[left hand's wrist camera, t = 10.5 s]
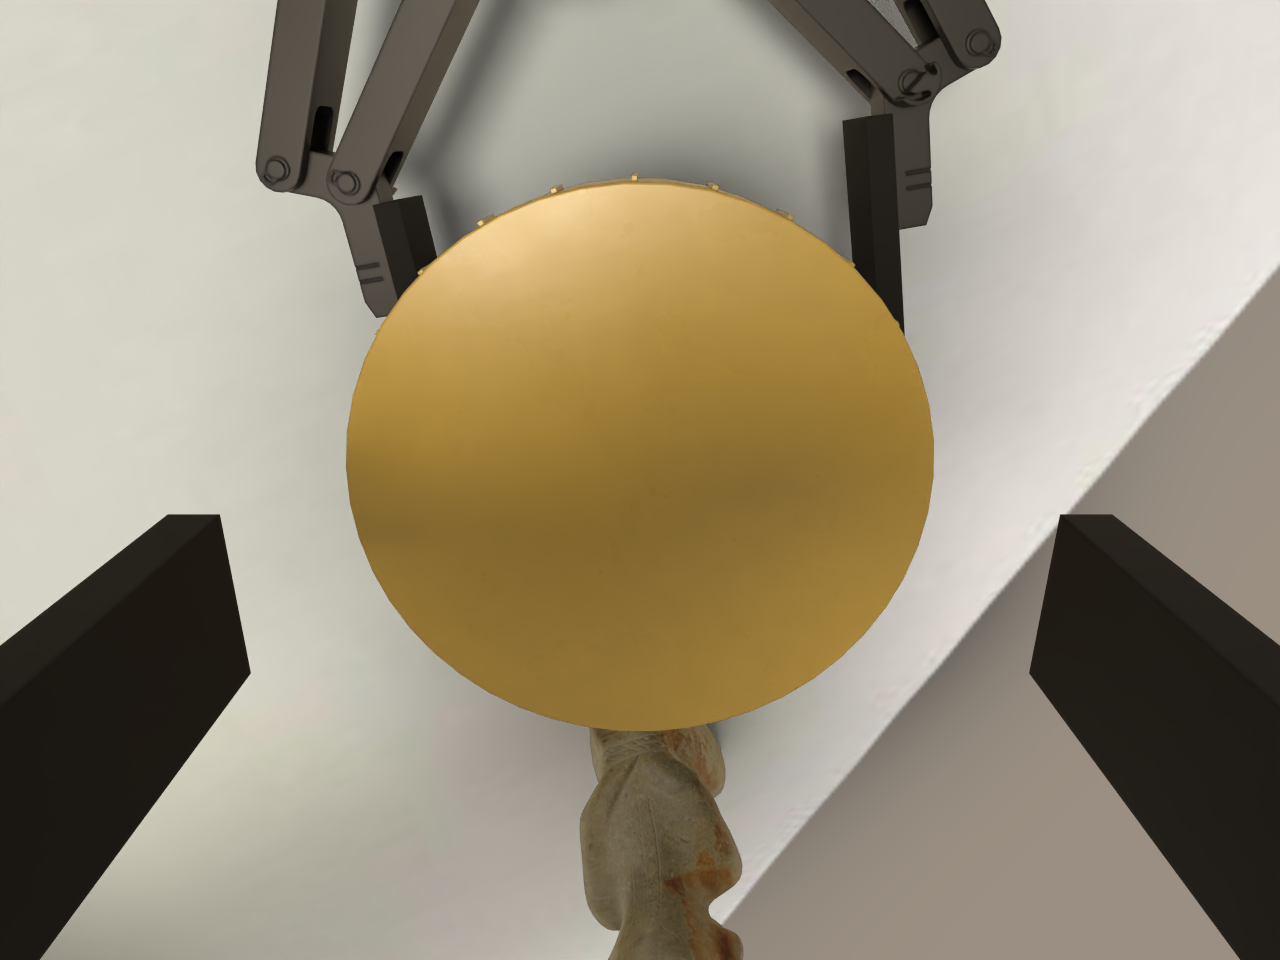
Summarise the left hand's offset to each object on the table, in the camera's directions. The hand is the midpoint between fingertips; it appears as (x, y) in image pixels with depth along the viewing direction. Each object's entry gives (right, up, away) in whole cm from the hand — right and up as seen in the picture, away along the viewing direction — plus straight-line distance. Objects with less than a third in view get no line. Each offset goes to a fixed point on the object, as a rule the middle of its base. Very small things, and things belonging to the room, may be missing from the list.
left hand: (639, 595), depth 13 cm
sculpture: (+1, -9, +26) cm, 28 cm away
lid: (0, +2, +4) cm, 5 cm away
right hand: (+1, +5, +14) cm, 15 cm away
